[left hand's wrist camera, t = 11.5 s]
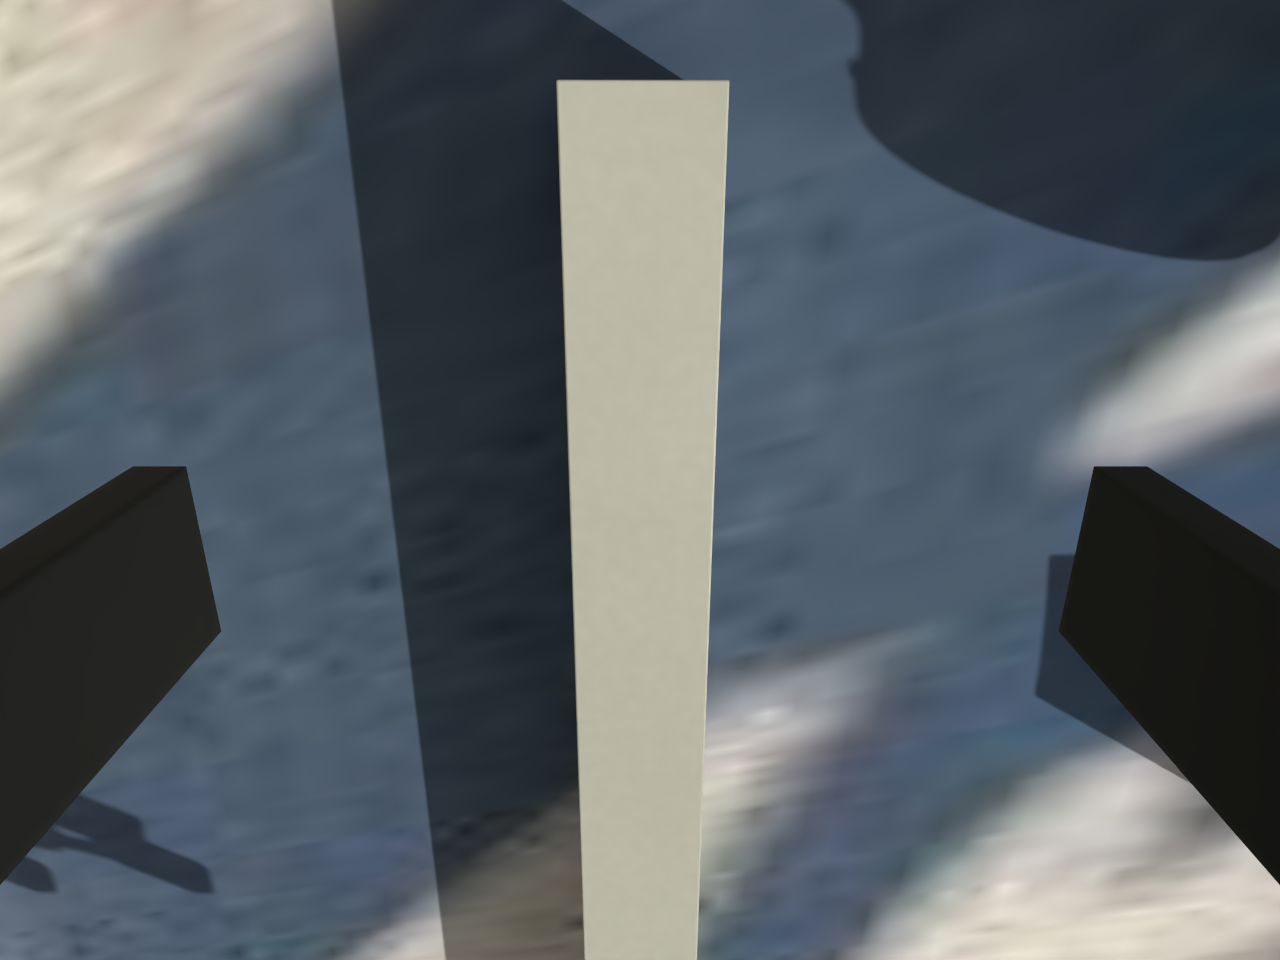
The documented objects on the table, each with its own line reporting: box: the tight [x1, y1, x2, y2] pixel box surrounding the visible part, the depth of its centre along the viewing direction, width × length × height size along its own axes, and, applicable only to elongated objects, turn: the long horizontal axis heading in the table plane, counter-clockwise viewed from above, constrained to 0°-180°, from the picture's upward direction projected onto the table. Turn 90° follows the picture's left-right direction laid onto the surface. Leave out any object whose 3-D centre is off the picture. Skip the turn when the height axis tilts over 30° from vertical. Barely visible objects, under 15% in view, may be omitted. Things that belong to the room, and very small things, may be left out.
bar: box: [556, 80, 729, 960], centre depth 39 cm, size 63×5×8 cm, turn 0°
